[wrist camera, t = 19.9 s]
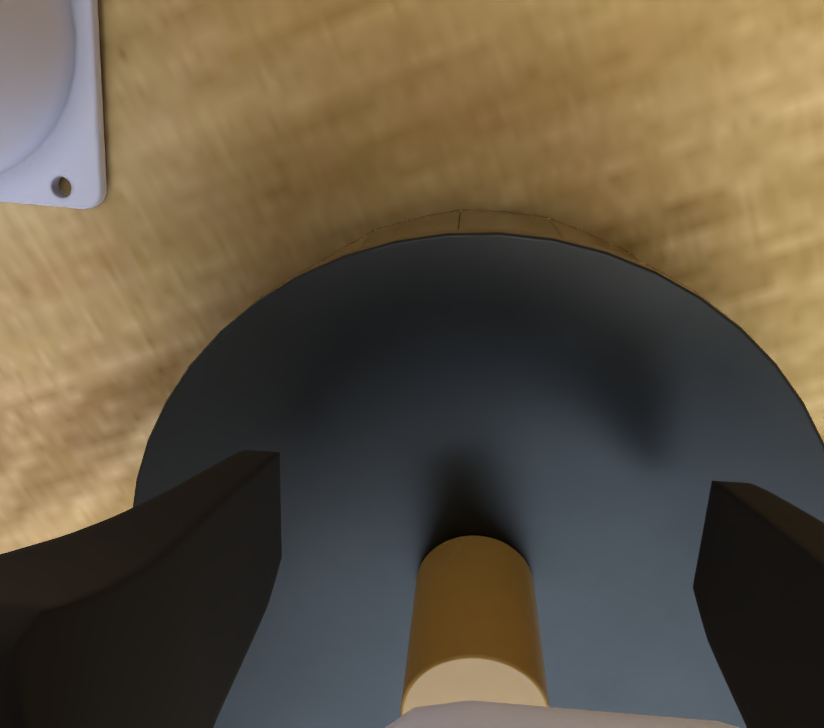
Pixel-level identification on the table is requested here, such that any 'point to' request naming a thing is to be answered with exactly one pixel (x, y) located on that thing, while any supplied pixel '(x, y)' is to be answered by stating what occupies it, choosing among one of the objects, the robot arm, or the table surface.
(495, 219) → the tin
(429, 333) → the tin lid
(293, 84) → the table surface
